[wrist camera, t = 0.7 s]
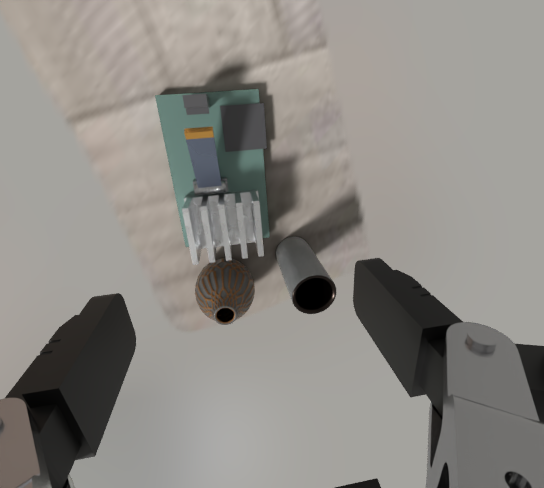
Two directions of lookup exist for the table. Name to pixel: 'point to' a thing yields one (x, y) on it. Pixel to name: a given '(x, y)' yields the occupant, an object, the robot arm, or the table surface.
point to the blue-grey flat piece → (204, 160)
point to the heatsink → (222, 222)
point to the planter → (305, 276)
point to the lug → (196, 104)
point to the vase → (224, 290)
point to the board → (218, 143)
